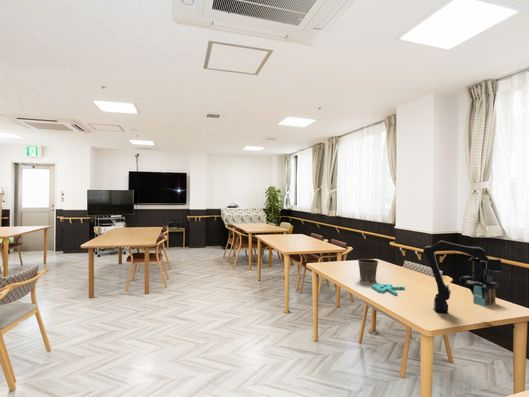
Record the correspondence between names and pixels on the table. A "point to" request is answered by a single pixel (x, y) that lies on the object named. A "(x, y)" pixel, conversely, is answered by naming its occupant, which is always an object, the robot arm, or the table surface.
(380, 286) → the alien figure
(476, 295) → the teal domino
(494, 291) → the walnut domino
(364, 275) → the plant pot
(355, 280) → the table surface
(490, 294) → the walnut domino
